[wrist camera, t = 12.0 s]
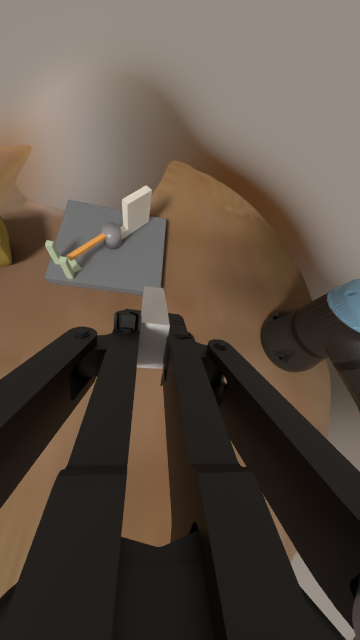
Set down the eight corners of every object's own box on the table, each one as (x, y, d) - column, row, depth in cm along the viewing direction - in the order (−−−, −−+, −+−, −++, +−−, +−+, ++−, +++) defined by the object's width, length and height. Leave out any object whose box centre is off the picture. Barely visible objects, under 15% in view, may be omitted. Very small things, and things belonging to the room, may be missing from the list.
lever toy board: (165, 224, 59) (170, 199, 51) (159, 297, 51) (163, 280, 43) (70, 206, 54) (61, 176, 47) (48, 282, 46) (32, 260, 39)
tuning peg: (140, 214, 55) (142, 181, 47) (152, 224, 54) (155, 193, 46) (66, 262, 46) (52, 232, 38) (79, 274, 46) (68, 246, 38)
